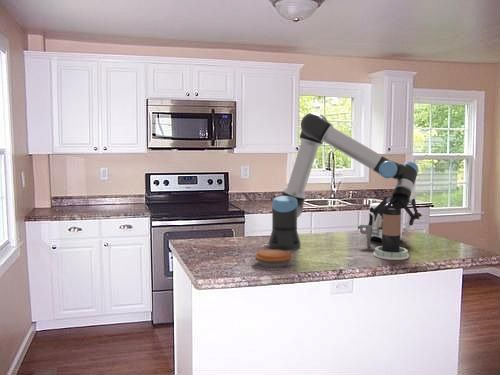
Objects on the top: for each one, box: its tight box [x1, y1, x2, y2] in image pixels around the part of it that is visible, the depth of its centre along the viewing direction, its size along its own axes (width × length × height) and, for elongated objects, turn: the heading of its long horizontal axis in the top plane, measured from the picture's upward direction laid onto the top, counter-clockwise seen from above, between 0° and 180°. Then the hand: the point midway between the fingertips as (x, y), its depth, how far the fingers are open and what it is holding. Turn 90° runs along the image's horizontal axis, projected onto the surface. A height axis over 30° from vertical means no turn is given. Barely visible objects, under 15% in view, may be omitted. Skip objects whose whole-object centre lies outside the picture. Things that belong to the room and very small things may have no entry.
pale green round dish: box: [372, 245, 410, 261], centre depth 202 cm, size 15×15×3 cm
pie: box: [254, 249, 294, 268], centre depth 189 cm, size 16×16×5 cm
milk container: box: [367, 202, 404, 242], centre depth 234 cm, size 17×17×18 cm
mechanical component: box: [357, 224, 381, 248], centre depth 220 cm, size 3×10×10 cm, turn 79°
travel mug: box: [381, 207, 402, 252], centre depth 202 cm, size 8×8×20 cm
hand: (390, 228), depth 200 cm, fingers open, 13 cm apart
